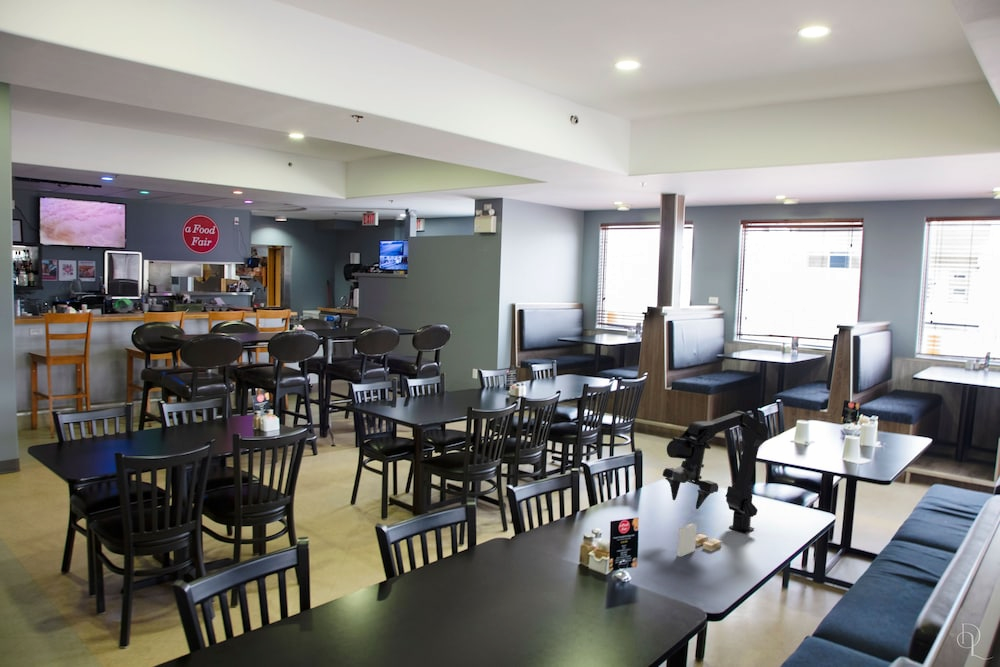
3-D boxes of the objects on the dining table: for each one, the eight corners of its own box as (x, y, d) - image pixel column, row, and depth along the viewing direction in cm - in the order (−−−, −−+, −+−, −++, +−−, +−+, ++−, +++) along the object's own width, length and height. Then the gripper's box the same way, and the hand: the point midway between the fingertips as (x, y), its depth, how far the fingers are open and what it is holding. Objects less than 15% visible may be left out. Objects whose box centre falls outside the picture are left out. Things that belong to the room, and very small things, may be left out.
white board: (692, 549, 226) (693, 523, 225) (695, 550, 225) (696, 524, 224) (677, 555, 221) (678, 528, 220) (680, 556, 220) (681, 529, 219)
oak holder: (699, 539, 235) (700, 533, 234) (721, 547, 228) (721, 541, 228) (689, 543, 231) (689, 537, 231) (710, 551, 225) (711, 545, 224)
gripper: (657, 452, 235) (649, 496, 236) (705, 468, 221) (696, 515, 222) (676, 452, 243) (667, 495, 243) (723, 467, 229) (714, 513, 229)
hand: (685, 504), depth 234 cm, fingers open, 9 cm apart
